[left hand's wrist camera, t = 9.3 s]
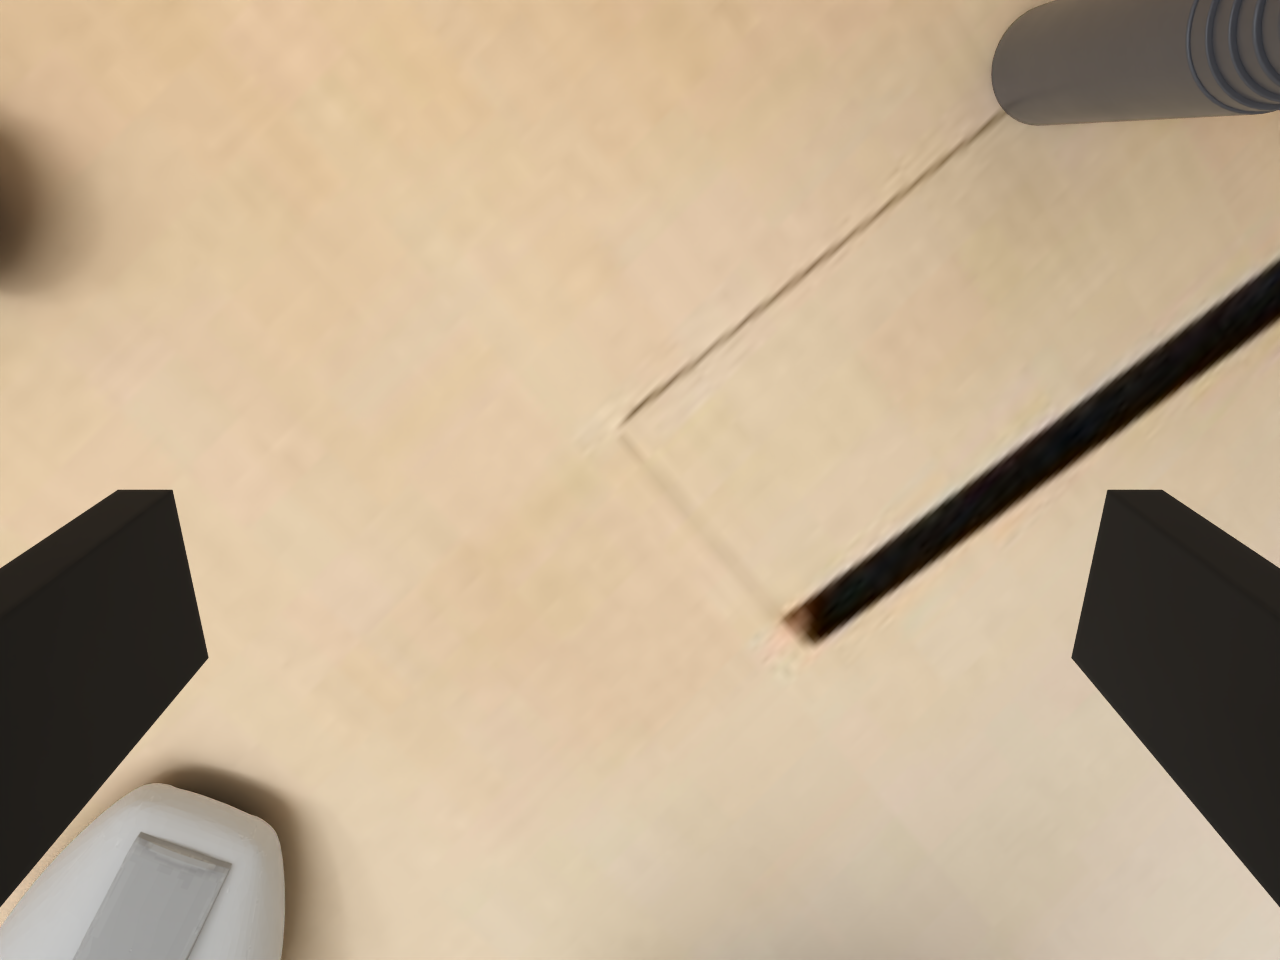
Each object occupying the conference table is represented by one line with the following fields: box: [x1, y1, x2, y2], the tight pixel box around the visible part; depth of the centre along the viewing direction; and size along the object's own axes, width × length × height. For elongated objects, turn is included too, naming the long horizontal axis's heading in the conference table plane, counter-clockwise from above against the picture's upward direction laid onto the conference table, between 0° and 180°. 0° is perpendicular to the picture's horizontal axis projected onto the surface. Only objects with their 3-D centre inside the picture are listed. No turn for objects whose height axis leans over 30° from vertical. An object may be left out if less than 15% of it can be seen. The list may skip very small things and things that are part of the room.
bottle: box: [992, 0, 1280, 125], centre depth 26 cm, size 4×4×19 cm
